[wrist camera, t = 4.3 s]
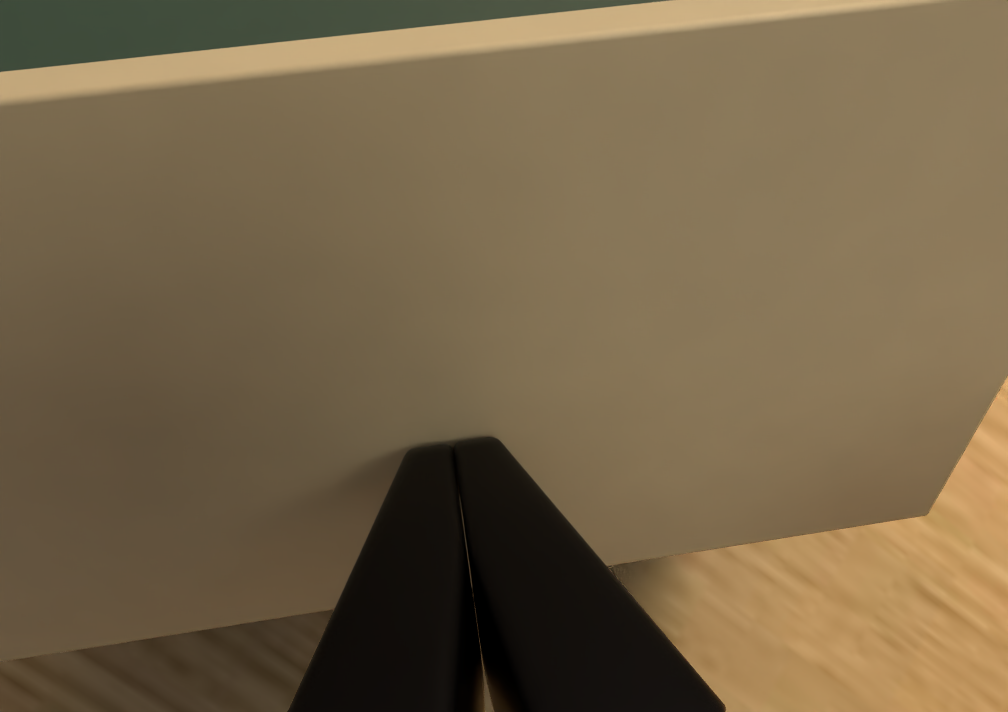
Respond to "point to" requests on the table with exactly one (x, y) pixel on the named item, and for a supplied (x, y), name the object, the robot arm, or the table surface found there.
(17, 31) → the box
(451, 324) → the flap
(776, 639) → the table surface
